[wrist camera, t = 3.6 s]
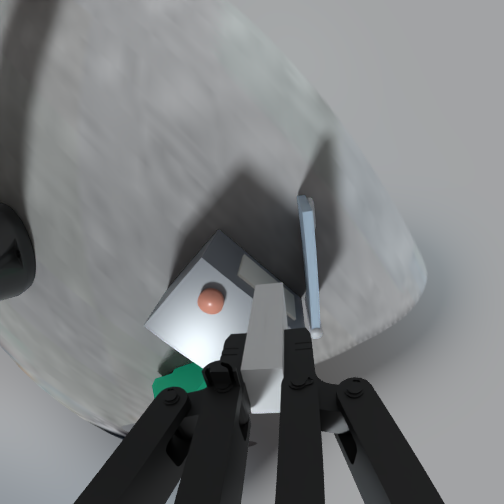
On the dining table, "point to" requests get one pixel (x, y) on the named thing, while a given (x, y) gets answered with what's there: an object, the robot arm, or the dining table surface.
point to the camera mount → (181, 379)
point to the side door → (310, 263)
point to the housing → (214, 301)
